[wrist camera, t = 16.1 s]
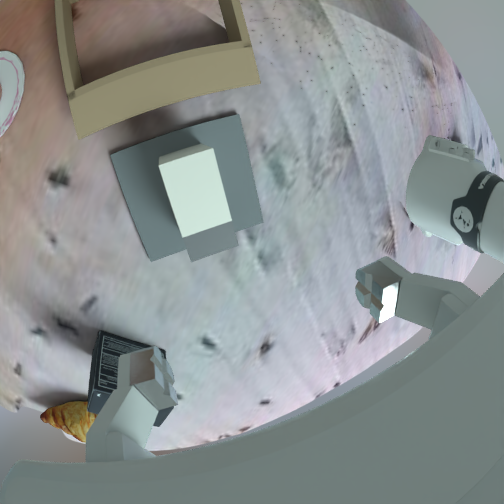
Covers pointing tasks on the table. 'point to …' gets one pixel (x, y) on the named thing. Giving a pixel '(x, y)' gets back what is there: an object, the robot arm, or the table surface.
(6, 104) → the teacup
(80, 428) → the croissant
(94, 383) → the small box
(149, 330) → the table surface
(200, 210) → the box
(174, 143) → the slate mat
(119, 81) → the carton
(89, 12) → the table surface
